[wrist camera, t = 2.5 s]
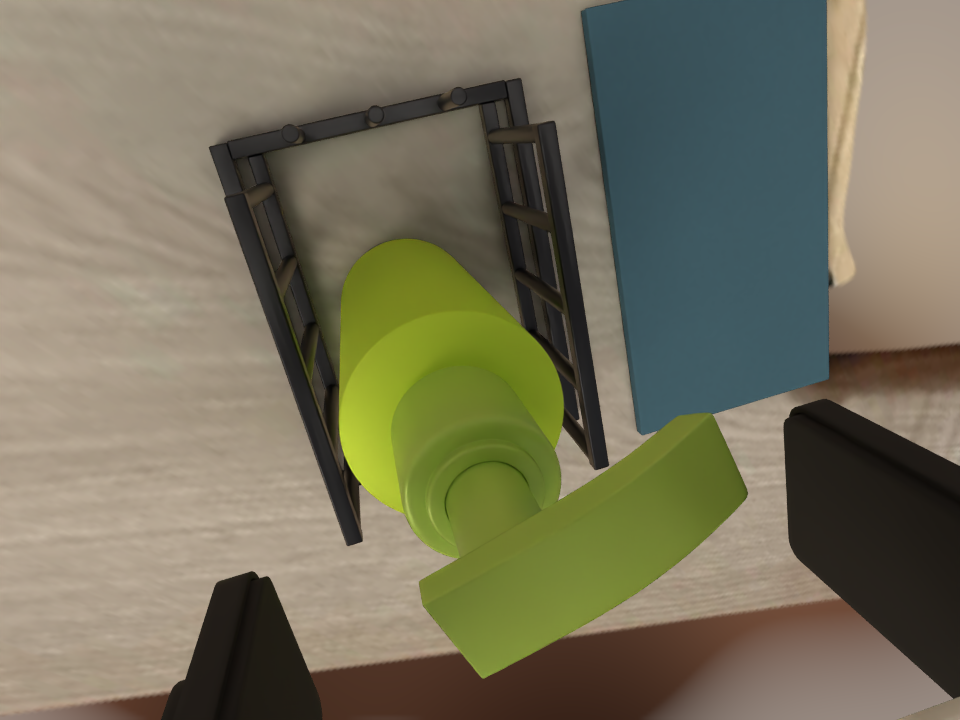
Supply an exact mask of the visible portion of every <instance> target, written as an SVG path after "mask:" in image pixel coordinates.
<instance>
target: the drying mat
mask: <svg viewBox="0 0 960 720" xmlns="http://www.w3.org/2000/svg"><path fill="white" fill-rule="evenodd" d="M581 14H582V22H583V29H584V37H585V44H586V52H587V59H588V67H589V74H590V81H591V89H592V96H593V104H594V111H595V119H596V126H597V134H598V141H599V149H600V156H601V163H602V171H603V178H604V186H605V193H606V201H607V208H608V216H609V223H610V230H611V238H612V245H613V253H614V260H615V268H616V275H617V283H618V290H619V298H620V305H621V312H622V320H623V327H624V335H625V342H626V350H627V357H628V365H629V372H630V380H631V387H632V394H633V402H634V409H635V417H636V424H637V431H638V432H639V433H640V434H641V435H645V434H649V433H652V432H655V431H659V430H660V429H662V428H663V427H664V426H665V425H667V424H668V423H669V422H670V421H672V420H673V419H674V418H676V417H677V416H680V415H687V414H694V413H712V414H715V413H718V412H721V411H725V410H728V409H731V408H735V407H738V406H741V405H744V404H748V403H751V402H754V401H758V400H761V399H764V398H768V397H771V396H774V395H778V394H781V393H784V392H787V391H791V390H794V389H797V388H801V387H804V386H807V385H811V384H814V383H817V382H820V381H824V380H827V379H829V304H828V303H829V299H828V298H829V296H828V148H827V0H624V1H619V2H614V3H610V4H605V5H600V6H595V7H591V8H586V9H585V10H583V11H582V12H581Z"/></svg>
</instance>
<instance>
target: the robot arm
mask: <svg viewBox="0 0 960 720" xmlns="http://www.w3.org/2000/svg"><path fill="white" fill-rule="evenodd" d="M784 448H785V470H786V491H787V512H788V534H789V543H790V546H791V548H792V550H793V552H794V554H795V555H796V557H797V558H798V559H799V560H800V561H801V562H802V563H803V564H804V565H805V566H806V567H808V568H809V569H810V570H811V571H812V572H813V573H814V574H815V575H816V576H818V577H819V578H820V579H821V580H822V581H823V582H824V583H825V584H826V585H828V586H829V587H830V588H831V589H832V590H833V591H834V592H835V593H836V594H838V595H839V596H840V597H841V598H842V599H843V600H844V601H845V602H847V603H848V604H849V605H850V606H851V607H852V608H853V609H854V610H856V611H857V612H858V613H859V614H860V615H861V616H862V617H863V618H864V619H866V621H868V622H869V623H870V624H871V625H872V626H873V627H874V628H876V629H877V630H878V631H879V632H880V633H881V634H882V635H883V636H884V637H885V638H887V639H888V640H889V641H890V642H891V643H892V644H893V645H894V646H896V647H897V648H898V649H899V650H900V651H901V652H902V653H903V654H904V655H905V656H907V657H908V658H909V659H910V660H911V661H912V662H913V663H914V664H915V665H917V666H918V667H919V668H920V669H921V670H922V671H923V672H924V673H925V674H927V675H928V676H929V677H930V678H931V679H932V680H933V681H934V682H936V683H937V684H938V685H939V686H940V687H941V688H942V689H943V690H944V691H945V692H947V693H948V694H949V695H950V696H951V697H952V698H953V699H952V700H949V701H947V702H944V703H941V704H939V705H936V706H933V707H931V708H928V709H925V710H922V711H920V712H917V713H914V714H911V715H908V716H906V717H903V718H900V719H898V720H960V466H958V465H956V464H954V463H953V462H951V461H949V460H947V459H945V458H943V457H941V456H939V455H937V454H935V453H933V452H931V451H929V450H927V449H925V448H923V447H921V446H919V445H917V444H915V443H913V442H911V441H909V440H907V439H905V438H903V437H901V436H899V435H897V434H895V433H893V432H892V431H890V430H888V429H886V428H884V427H882V426H880V425H878V424H876V423H874V422H872V421H870V420H868V419H866V418H864V417H862V416H860V415H858V414H856V413H854V412H852V411H850V410H848V409H846V408H844V407H842V406H840V405H838V404H836V403H834V402H832V401H830V400H827V399H821V400H818V401H814V402H811V403H808V404H805V405H801V406H798V407H795V408H793V409H792V410H791V412H790V415H789V418H787V419H786V420H785V422H784ZM161 720H322V708H321V703H320V698H319V695H318V692H317V690H316V687H315V685H314V683H313V680H312V678H311V675H310V673H309V670H308V668H307V666H306V663H305V661H304V658H303V656H302V653H301V651H300V649H299V646H298V644H297V641H296V639H295V637H294V634H293V632H292V629H291V627H290V624H289V622H288V620H287V617H286V615H285V612H284V610H283V607H282V605H281V603H280V600H279V598H278V595H277V593H276V590H275V588H274V586H273V583H272V581H271V579H270V578H269V577H267V576H266V577H263V578H259V577H258V575H257V574H256V573H255V572H253V571H251V572H248V573H245V574H242V575H238V576H235V577H232V578H228V579H225V580H222V581H219V582H217V583H216V585H215V587H214V590H213V594H212V597H211V600H210V603H209V606H208V609H207V613H206V616H205V619H204V622H203V625H202V628H201V631H200V635H199V638H198V641H197V644H196V647H195V650H194V654H193V657H192V660H191V663H190V666H189V669H188V673H187V676H186V679H185V680H183V681H180V682H178V683H177V684H176V685H175V686H174V687H173V689H172V691H171V693H170V695H169V698H168V701H167V704H166V707H165V710H164V713H163V716H162V719H161Z"/></svg>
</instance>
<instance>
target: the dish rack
mask: <svg viewBox="0 0 960 720" xmlns="http://www.w3.org/2000/svg"><path fill="white" fill-rule="evenodd" d="M503 99H505V102H506V108H507V113H508V119H509V124H510V127H506V128H500V126H499V121H498V115H497V110H496V105H495V102H494V101H498V100H503ZM476 105H479V110H480V115H481V120H482V125H483V130H484V135H485V140H486V145H487V150H488V155H489V160H490V165H491V171H492V176H493V181H494V186H495V191H496V196H497V201H498V206H499V211H500V216H501V221H502V226H503V231H504V237H505V242H506V247H507V252H508V257H509V262H510V267H511V272H512V277H513V282H514V287H515V292H516V297H517V303H518V308H519V313H520V318H521V323H522V327H523V328H524V329H525V330H526V331H527V332H528V333H529V334H530V335H531V336H532V337H533V338H534V339H535V340H536V341H537V342H538V343H539V344H540V345H541V346H542V347H543V349H544V350H545V351H546V353H547V354H548V356H549V357H550V359H551V360H552V362H553V364H554V366H555V368H556V371H557V373H558V376H559V379H560V382H561V387H562V392H563V400H564V415H563V423H562V426H563V427H564V428H565V430H566V431H567V432H568V433H569V435H570V436H571V437H572V438H573V440H574V441H575V442H576V444H577V445H578V446H579V447H580V449H581V450H582V451H583V452H584V454H585V455H586V456H587V457H588V459H589V462H590V464H591V465H592V467H593V468H594V469H595V470H598V469H601V468H605V467H608V466H609V462H608V456H607V449H606V443H605V436H604V430H603V424H602V417H601V411H600V405H599V398H598V392H597V385H596V379H595V373H594V366H593V360H592V353H591V347H590V341H589V334H588V328H587V322H586V315H585V309H584V302H583V296H582V290H581V283H580V277H579V270H578V264H577V258H576V251H575V245H574V238H573V232H572V226H571V219H570V213H569V207H568V200H567V194H566V187H565V181H564V175H563V168H562V162H561V155H560V149H559V143H558V136H557V130H556V124H555V121H547V122H543V123H536V124H529V121H528V115H527V109H526V103H525V97H524V91H523V86H522V80H521V78H517V79H513V80H508V81H504V80H502V81H497V82H493V83H488V84H484V85H479V86H475V87H470V88H466V89H463V88H461V87H456V88H454V89H452V90H450V91H448V92H447V93H443V94H439V95H434V96H429V97H425V98H420V99H416V100H411V101H407V102H402V103H398V104H393V105H389V106H384V107H380V106H377V105H374V106H371V107H370V108H369V109H368V110H366V111H362V112H357V113H353V114H348V115H344V116H339V117H335V118H330V119H326V120H321V121H317V122H312V123H307V124H303V125H298V126H294V125H291V124H288V125H285V126H284V127H283V128H282V129H280V130H276V131H271V132H267V133H262V134H258V135H253V136H249V137H244V138H240V139H235V140H231V141H228V142H227V143H224V144H219V145H215V146H210V147H209V149H210V152H211V155H212V158H213V161H214V164H215V166H216V169H217V172H218V175H219V178H220V181H221V183H222V186H223V189H224V192H225V195H226V197H225V198H224V200H225V203H226V206H227V208H228V211H229V214H230V217H231V220H232V222H233V225H234V228H235V231H236V234H237V237H238V239H239V242H240V245H241V248H242V251H243V254H244V256H245V259H246V262H247V265H248V268H249V271H250V273H251V276H252V279H253V282H254V285H255V287H256V290H257V293H258V296H259V299H260V302H261V304H262V307H263V310H264V313H265V316H266V319H267V321H268V324H269V327H270V330H271V333H272V336H273V338H274V341H275V344H276V347H277V350H278V352H279V355H280V358H281V361H282V364H283V367H284V369H285V372H286V375H287V378H288V381H289V384H290V386H291V389H292V392H293V395H294V398H295V401H296V403H297V406H298V409H299V412H300V415H301V417H302V420H303V423H304V426H305V429H306V432H307V434H308V437H309V440H310V443H311V446H312V449H313V451H314V454H315V457H316V460H317V463H318V465H319V468H320V471H321V474H322V477H323V480H324V482H325V485H326V488H327V491H328V494H329V497H330V499H331V502H332V505H333V508H334V511H335V514H336V516H337V519H338V522H339V525H340V528H341V530H342V533H343V536H344V539H345V542H346V545H347V546H350V545H354V544H357V543H360V542H362V541H363V536H362V530H361V519H360V497H359V485H361V483H360V482H359V481H358V480H357V478H356V477H355V475H354V474H353V472H352V470H351V469H350V467H349V465H348V463H347V461H346V458H345V456H344V471H343V472H342V471H341V468H340V465H339V462H338V459H337V456H338V431H339V384H338V381H337V378H336V375H335V372H334V369H333V366H332V363H331V360H330V357H329V353H328V350H327V347H326V344H325V341H324V338H323V335H322V332H321V329H320V326H319V322H318V319H317V316H316V313H315V310H314V307H313V304H312V301H311V298H310V295H309V291H308V288H307V285H306V282H305V279H304V276H303V273H302V270H301V267H300V264H299V260H298V257H297V254H296V251H295V248H294V245H293V242H292V239H291V236H290V233H289V229H288V226H287V223H286V220H285V217H284V214H283V211H282V208H281V205H280V202H279V198H278V195H277V192H276V189H275V186H274V183H273V180H272V177H271V174H270V171H269V167H268V164H267V161H266V158H265V155H264V154H263V153H267V152H272V151H276V150H281V149H285V148H290V147H294V146H299V145H303V144H307V143H312V142H316V141H321V140H325V139H330V138H334V137H338V136H343V135H347V134H352V133H356V132H361V131H365V130H370V129H374V128H378V127H383V126H387V125H392V124H396V123H401V122H405V121H410V120H414V119H418V118H423V117H427V116H432V115H436V114H441V113H445V112H449V111H454V110H458V109H463V108H467V107H472V106H476ZM532 143H536V149H537V155H538V161H539V167H540V173H541V179H542V184H543V190H544V196H545V202H546V208H547V213H546V212H544V208H543V202H542V197H541V191H540V185H539V179H538V173H537V167H536V162H535V156H534V150H533V144H532ZM503 144H513V146H514V152H515V157H516V163H517V168H518V174H519V179H520V185H521V190H522V196H523V201H524V205H521V204H517V203H514V201H513V195H512V190H511V185H510V179H509V174H508V169H507V163H506V158H505V153H504V147H503ZM245 157H248V160H249V163H250V166H251V169H252V172H253V175H254V178H255V181H256V184H257V185H255V186H253V187H251V188H248V189H246V190H245V187H244V184H243V181H242V178H241V175H240V172H239V169H238V166H237V163H236V161H235V160H236V159H241V158H245ZM261 202H263V205H264V208H265V211H266V214H267V217H268V220H269V223H270V226H271V229H272V232H273V235H274V238H275V241H276V244H277V247H278V250H279V253H280V257H281V260H282V262H281V263H280V265H279V267H278V269H277V271H276V273H275V274H274V271H273V268H272V265H271V262H270V259H269V256H268V253H267V250H266V247H265V244H264V241H263V238H262V235H261V233H260V230H259V227H258V224H257V221H256V218H255V215H254V212H253V209H252V208H254V207H255V206H257V205H258V204H260V203H261ZM517 219H518V220H520V221H523V222H525V223H528V229H529V234H530V240H531V245H532V251H533V256H534V262H535V267H536V273H537V276H535V275H534V274H532V273H531V272H529V271H528V270H526V264H525V259H524V254H523V248H522V243H521V238H520V232H519V227H518V222H517ZM548 232H550V233H551V238H552V243H553V249H554V255H555V261H556V267H557V273H558V279H559V285H560V291H561V292H560V291H558V290H557V284H556V278H555V273H554V267H553V261H552V255H551V249H550V243H549V237H548ZM289 284H290V287H291V290H292V293H293V296H294V299H295V302H296V305H297V308H298V311H299V314H300V317H301V320H302V323H303V326H304V333H303V338H302V342H301V347H299V344H298V341H297V339H296V336H295V333H294V330H293V327H292V324H291V321H290V318H289V315H288V312H287V309H286V306H285V303H284V300H283V299H284V296H285V294H286V291H287V289H288V286H289ZM530 290H532V291H533V292H534V293H536V294H537V295H538V296H540V297H541V300H542V306H543V311H544V317H545V322H546V328H547V333H548V339H549V341H548V340H547V339H546V338H544V337H543V336H542V335H541V334H540V333H539V332H538V328H537V323H536V318H535V312H534V307H533V302H532V296H531V291H530ZM562 314H564V315H565V320H566V326H567V332H568V338H569V344H570V350H571V356H572V361H573V364H572V363H571V362H570V360H569V354H568V348H567V343H566V337H565V331H564V325H563V319H562ZM314 362H316V365H317V368H318V371H319V374H320V377H321V380H322V383H323V386H324V389H325V399H324V412H323V415H322V412H321V409H320V406H319V403H318V400H317V397H316V394H315V392H314V389H313V386H312V377H313V369H314ZM574 388H575V389H576V390H577V391H578V397H579V403H580V409H581V415H582V421H583V426H584V429H583V428H582V427H581V426H580V424H579V423H578V422H577V421H576V420H579V413H578V407H577V401H576V395H575V389H574Z"/></svg>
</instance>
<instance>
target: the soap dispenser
mask: <svg viewBox="0 0 960 720" xmlns="http://www.w3.org/2000/svg"><path fill="white" fill-rule="evenodd" d="M563 415H564V400H563V392H562V387H561V382H560V379H559V376H558V373H557V371H556V368H555V366H554V364H553V362H552V360H551V359H550V357H549V356H548V354H547V353H546V351H545V350H544V349H543V347H542V346H541V345H540V344H539V343H538V342H537V341H536V340H535V339H534V338H533V337H532V336H531V335H530V334H529V333H528V332H527V331H526V330H525V329H524V328H523V327H522V326H521V325H520V324H519V323H518V322H517V321H516V320H515V319H514V318H513V317H512V316H511V315H510V314H509V313H508V312H507V311H506V310H505V309H504V308H503V307H502V306H501V305H500V304H499V303H498V302H497V301H496V300H495V299H494V298H493V297H492V296H491V295H490V294H489V293H488V292H487V291H486V290H485V289H484V288H483V287H482V286H481V285H480V284H479V283H478V282H477V281H476V280H475V279H474V278H473V277H472V276H471V275H470V274H469V273H468V272H467V271H466V270H465V269H464V268H463V267H462V266H461V265H460V264H459V263H458V262H457V261H456V260H455V259H454V258H453V257H452V256H451V255H450V254H448V253H447V252H446V251H444V250H443V249H441V248H440V247H438V246H436V245H434V244H431V243H429V242H425V241H422V240H416V239H397V240H392V241H388V242H385V243H382V244H380V245H378V246H376V247H374V248H372V249H371V250H369V251H368V252H366V253H365V254H364V255H363V256H362V257H361V258H360V259H359V260H358V261H357V262H356V263H355V264H354V266H353V267H352V268H351V270H350V272H349V273H348V275H347V278H346V280H345V283H344V286H343V290H342V295H341V327H340V379H339V435H340V441H341V446H342V450H343V453H344V456H345V458H346V461H347V463H348V465H349V467H350V469H351V470H352V472H353V474H354V475H355V477H356V478H357V480H358V481H359V482H360V483H361V485H362V486H363V487H364V488H365V489H366V490H367V491H368V492H369V493H370V494H371V495H373V496H374V497H375V498H376V499H378V500H379V501H380V502H382V503H384V504H385V505H387V506H389V507H390V508H392V509H394V510H397V511H399V512H401V513H404V514H405V516H406V519H407V521H408V523H409V525H410V526H411V528H412V530H413V531H414V533H415V534H416V535H417V536H418V538H419V539H420V540H421V541H422V542H424V543H425V544H426V545H427V546H429V547H430V548H432V549H433V550H435V551H437V552H439V553H441V554H444V555H446V556H449V557H453V558H458V559H457V560H456V561H454V562H452V563H450V564H449V565H447V566H445V567H443V568H442V569H440V570H438V571H436V572H434V573H433V574H431V575H429V576H427V577H426V578H424V579H422V580H421V581H419V587H420V593H421V599H422V604H423V606H424V608H425V609H426V610H427V612H428V613H429V614H430V615H431V616H432V618H433V619H434V620H435V621H436V623H437V624H438V625H439V626H440V627H441V629H442V630H443V631H444V632H445V634H446V635H447V636H448V637H449V639H450V640H451V641H452V642H453V643H454V645H455V646H456V647H457V648H458V650H459V651H460V652H461V653H462V654H463V656H464V657H465V658H466V659H467V661H468V662H469V663H470V664H471V665H472V667H473V668H474V669H475V670H476V672H477V673H478V674H479V675H480V676H481V677H482V678H486V677H488V676H490V675H492V674H493V673H495V672H497V671H499V670H501V669H503V668H505V667H507V666H509V665H511V664H513V663H515V662H517V661H519V660H521V659H522V658H524V657H526V656H528V655H530V654H532V653H534V652H536V651H538V650H540V649H541V648H543V647H545V646H547V645H549V644H551V643H553V642H554V641H556V640H558V639H560V638H562V637H564V636H566V635H567V634H569V633H571V632H573V631H575V630H576V629H578V628H580V627H582V626H584V625H585V624H587V623H589V622H591V621H592V620H594V619H596V618H597V617H599V616H601V615H603V614H604V613H606V612H608V611H609V610H611V609H613V608H614V607H616V606H617V605H619V604H621V603H622V602H624V601H625V600H627V599H628V598H630V597H631V596H633V595H635V594H636V593H638V592H639V591H640V590H642V589H643V588H645V587H646V586H648V585H649V584H651V583H652V582H653V581H655V580H656V579H658V578H659V577H660V576H662V575H663V574H664V573H666V572H667V571H668V570H669V569H671V568H672V567H673V566H675V565H676V564H677V563H678V562H680V561H681V560H682V559H683V558H684V557H686V556H687V555H688V554H689V553H690V552H692V551H693V550H694V549H695V548H696V547H697V546H698V545H700V544H701V543H702V542H703V541H704V540H705V539H706V538H707V537H708V536H710V535H711V534H712V533H713V532H714V531H715V530H716V529H717V528H718V527H719V526H720V525H721V524H722V523H723V522H724V521H725V520H726V519H727V518H728V517H729V516H730V515H731V514H732V513H733V512H734V511H735V510H736V509H737V508H738V507H739V506H740V505H741V504H742V503H743V502H744V500H745V499H746V498H747V495H748V492H747V488H746V486H745V484H744V481H743V479H742V477H741V475H740V472H739V470H738V468H737V466H736V464H735V461H734V459H733V457H732V455H731V453H730V450H729V448H728V446H727V444H726V442H725V440H724V437H723V435H722V433H721V431H720V429H719V427H718V425H717V422H716V420H715V418H714V416H713V415H712V413H694V414H687V415H680V416H677V417H676V418H674V419H673V420H672V421H670V422H669V423H668V424H667V425H665V426H664V427H663V428H662V429H660V430H659V431H658V432H657V433H656V434H654V435H653V436H652V437H651V438H650V439H648V440H647V441H646V442H645V443H643V444H642V445H641V446H640V447H638V448H637V449H636V450H634V451H633V452H632V453H630V454H629V455H628V456H626V457H625V458H624V459H622V460H621V461H620V462H618V463H617V464H615V465H614V466H612V467H611V468H610V469H608V470H607V471H605V472H604V473H602V474H601V475H599V476H598V477H596V478H594V479H593V480H591V481H590V482H588V483H587V484H585V485H583V486H582V487H580V488H579V489H577V490H575V491H574V492H572V493H570V494H569V495H567V496H565V497H564V498H562V499H560V500H559V501H558V498H559V494H560V489H561V470H560V465H559V461H558V458H557V455H556V452H555V450H554V449H555V447H556V445H557V442H558V439H559V436H560V433H561V428H562V423H563Z"/></svg>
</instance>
